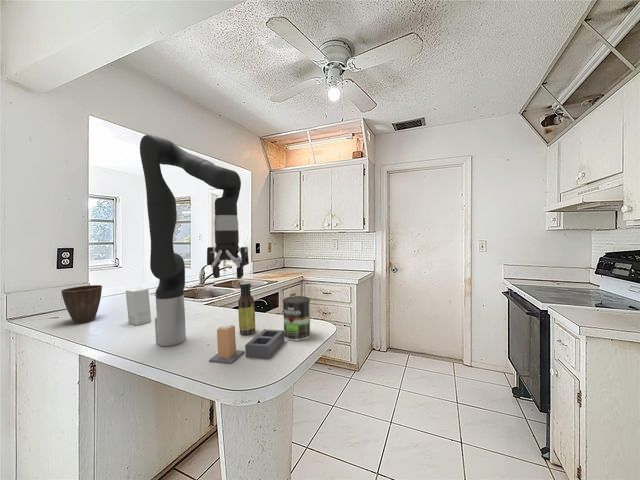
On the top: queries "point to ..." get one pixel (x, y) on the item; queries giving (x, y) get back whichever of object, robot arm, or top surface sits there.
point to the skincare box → (138, 306)
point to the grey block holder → (265, 344)
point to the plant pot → (82, 302)
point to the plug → (226, 341)
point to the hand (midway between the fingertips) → (228, 278)
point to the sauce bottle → (246, 310)
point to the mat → (227, 360)
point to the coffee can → (296, 318)
